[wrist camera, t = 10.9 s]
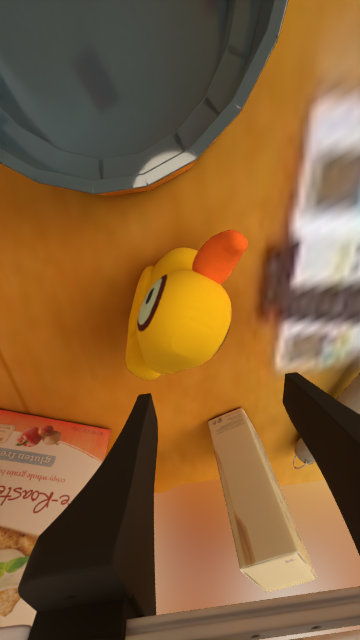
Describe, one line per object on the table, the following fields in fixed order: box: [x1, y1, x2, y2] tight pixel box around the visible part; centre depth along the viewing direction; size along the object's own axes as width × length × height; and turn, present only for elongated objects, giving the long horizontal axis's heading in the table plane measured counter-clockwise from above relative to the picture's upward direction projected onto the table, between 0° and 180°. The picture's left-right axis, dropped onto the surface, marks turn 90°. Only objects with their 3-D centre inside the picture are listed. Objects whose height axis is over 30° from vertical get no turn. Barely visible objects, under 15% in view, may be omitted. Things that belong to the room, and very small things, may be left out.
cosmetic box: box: [208, 408, 317, 592], centre depth 23 cm, size 6×4×12 cm
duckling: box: [125, 230, 247, 380], centre depth 15 cm, size 11×5×10 cm, turn 152°
